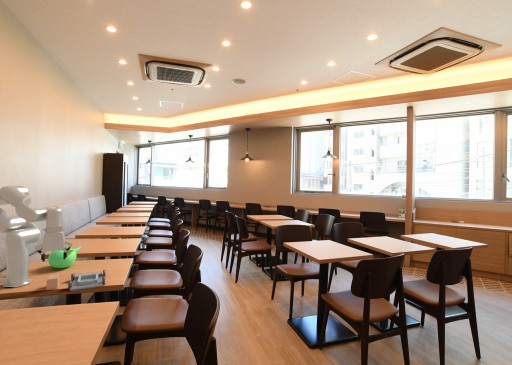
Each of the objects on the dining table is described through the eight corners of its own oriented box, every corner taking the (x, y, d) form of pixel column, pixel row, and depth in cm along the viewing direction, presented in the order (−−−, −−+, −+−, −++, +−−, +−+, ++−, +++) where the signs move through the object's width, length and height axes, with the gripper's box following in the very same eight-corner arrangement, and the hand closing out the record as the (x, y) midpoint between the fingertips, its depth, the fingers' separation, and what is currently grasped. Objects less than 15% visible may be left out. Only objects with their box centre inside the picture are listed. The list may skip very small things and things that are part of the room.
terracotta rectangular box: (46, 290, 151) (46, 279, 151) (48, 285, 157) (49, 275, 157) (57, 288, 154) (57, 278, 154) (59, 284, 160) (59, 274, 160)
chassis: (67, 291, 150) (67, 283, 150) (72, 278, 169) (72, 271, 168) (104, 286, 159) (105, 278, 158) (105, 274, 177) (105, 268, 177)
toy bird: (54, 264, 196) (54, 243, 196) (81, 262, 201) (81, 242, 201) (43, 272, 179) (43, 250, 179) (73, 270, 184) (73, 248, 184)
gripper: (33, 232, 148) (33, 264, 148) (71, 229, 156) (71, 259, 156) (36, 230, 154) (36, 260, 155) (73, 227, 163) (73, 256, 163)
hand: (54, 260), depth 155 cm, fingers open, 9 cm apart
